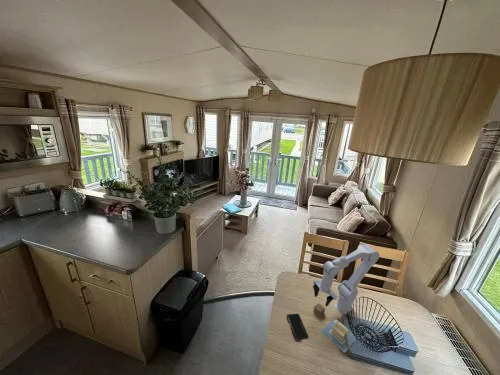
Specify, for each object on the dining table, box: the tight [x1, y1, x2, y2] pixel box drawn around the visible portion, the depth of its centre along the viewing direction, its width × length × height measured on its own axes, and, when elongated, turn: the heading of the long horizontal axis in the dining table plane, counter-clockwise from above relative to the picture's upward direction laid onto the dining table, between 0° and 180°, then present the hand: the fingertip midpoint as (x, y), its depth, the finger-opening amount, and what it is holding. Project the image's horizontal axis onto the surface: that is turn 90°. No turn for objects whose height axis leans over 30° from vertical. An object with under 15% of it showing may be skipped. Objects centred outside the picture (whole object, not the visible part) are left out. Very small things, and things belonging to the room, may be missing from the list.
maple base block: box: [332, 321, 350, 342], centre depth 114 cm, size 6×6×4 cm
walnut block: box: [313, 302, 326, 318], centre depth 127 cm, size 4×4×4 cm
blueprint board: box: [320, 318, 349, 354], centre depth 115 cm, size 14×14×1 cm
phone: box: [286, 313, 309, 342], centre depth 118 cm, size 8×1×15 cm
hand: (321, 300), depth 124 cm, fingers open, 7 cm apart
